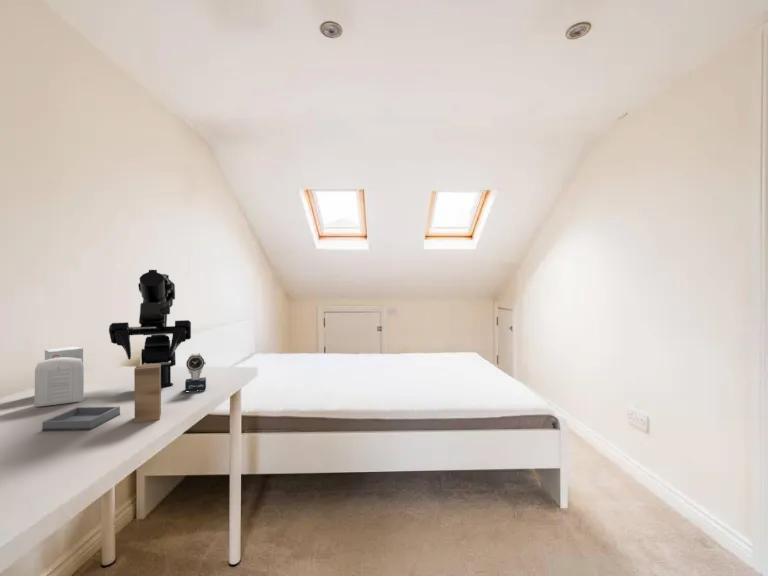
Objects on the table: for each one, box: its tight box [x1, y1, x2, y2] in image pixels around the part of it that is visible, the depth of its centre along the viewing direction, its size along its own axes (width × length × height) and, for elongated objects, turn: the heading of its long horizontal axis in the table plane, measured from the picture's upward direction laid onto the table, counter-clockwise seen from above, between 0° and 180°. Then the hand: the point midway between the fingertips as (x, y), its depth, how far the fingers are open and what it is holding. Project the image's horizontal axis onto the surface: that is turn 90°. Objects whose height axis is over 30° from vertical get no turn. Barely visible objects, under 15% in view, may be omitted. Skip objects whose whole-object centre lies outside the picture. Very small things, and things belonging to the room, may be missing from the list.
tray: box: [41, 406, 121, 432], centre depth 90 cm, size 10×10×2 cm
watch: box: [184, 353, 207, 393], centre depth 118 cm, size 6×8×11 cm
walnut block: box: [133, 363, 162, 424], centre depth 93 cm, size 5×5×12 cm
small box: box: [44, 346, 84, 364], centre depth 116 cm, size 8×6×13 cm
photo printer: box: [33, 357, 85, 408], centre depth 105 cm, size 10×4×12 cm, turn 123°
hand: (150, 356), depth 100 cm, fingers open, 9 cm apart
